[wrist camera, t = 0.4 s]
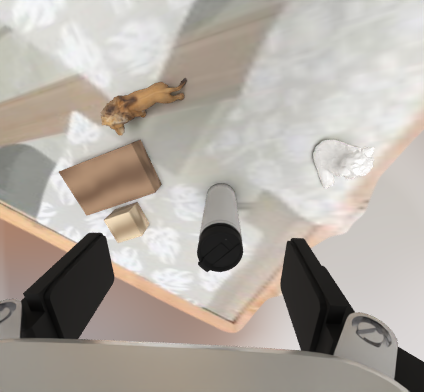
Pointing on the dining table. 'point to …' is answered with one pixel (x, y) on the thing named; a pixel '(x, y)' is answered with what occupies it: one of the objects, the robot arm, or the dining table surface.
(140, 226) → the oak block
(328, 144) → the seated beast figurine
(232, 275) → the dining table surface
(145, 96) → the lion figurine
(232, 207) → the travel mug
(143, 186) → the walnut block
